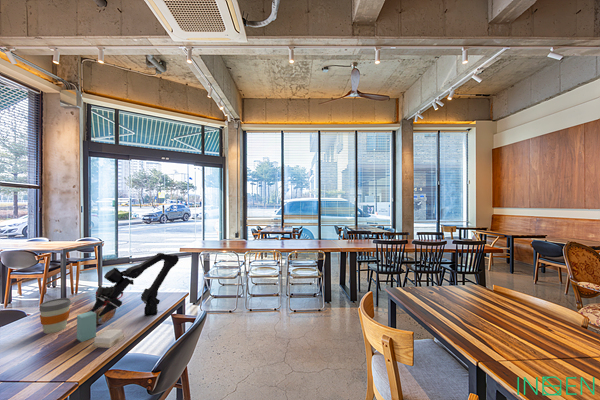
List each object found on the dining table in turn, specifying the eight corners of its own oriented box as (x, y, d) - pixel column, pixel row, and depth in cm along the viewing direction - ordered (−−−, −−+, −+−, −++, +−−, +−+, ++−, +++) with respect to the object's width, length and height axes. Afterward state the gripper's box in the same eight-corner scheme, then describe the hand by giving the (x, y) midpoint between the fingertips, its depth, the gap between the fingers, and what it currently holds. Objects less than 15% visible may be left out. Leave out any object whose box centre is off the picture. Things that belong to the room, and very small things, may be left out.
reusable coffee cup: (42, 337, 131) (43, 308, 131) (35, 331, 138) (36, 303, 138) (74, 327, 142) (74, 300, 142) (66, 322, 148) (66, 296, 149)
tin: (98, 326, 143) (98, 311, 143) (92, 326, 143) (92, 311, 143) (116, 315, 158) (116, 301, 158) (111, 315, 158) (111, 301, 158)
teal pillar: (90, 333, 135) (91, 311, 136) (95, 336, 132) (96, 313, 133) (76, 338, 130) (77, 315, 130) (81, 341, 127) (82, 317, 127)
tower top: (108, 334, 131) (108, 329, 131) (122, 335, 130) (122, 330, 130) (94, 342, 123) (94, 337, 123) (109, 343, 123) (109, 338, 123)
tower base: (108, 338, 132) (108, 333, 132) (124, 339, 131) (124, 334, 131) (92, 348, 123) (92, 343, 123) (109, 349, 122) (109, 344, 122)
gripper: (99, 277, 144) (74, 303, 135) (116, 282, 135) (90, 311, 125) (115, 287, 151) (92, 313, 141) (131, 293, 142) (108, 321, 132)
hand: (95, 314), depth 135 cm, fingers open, 9 cm apart
